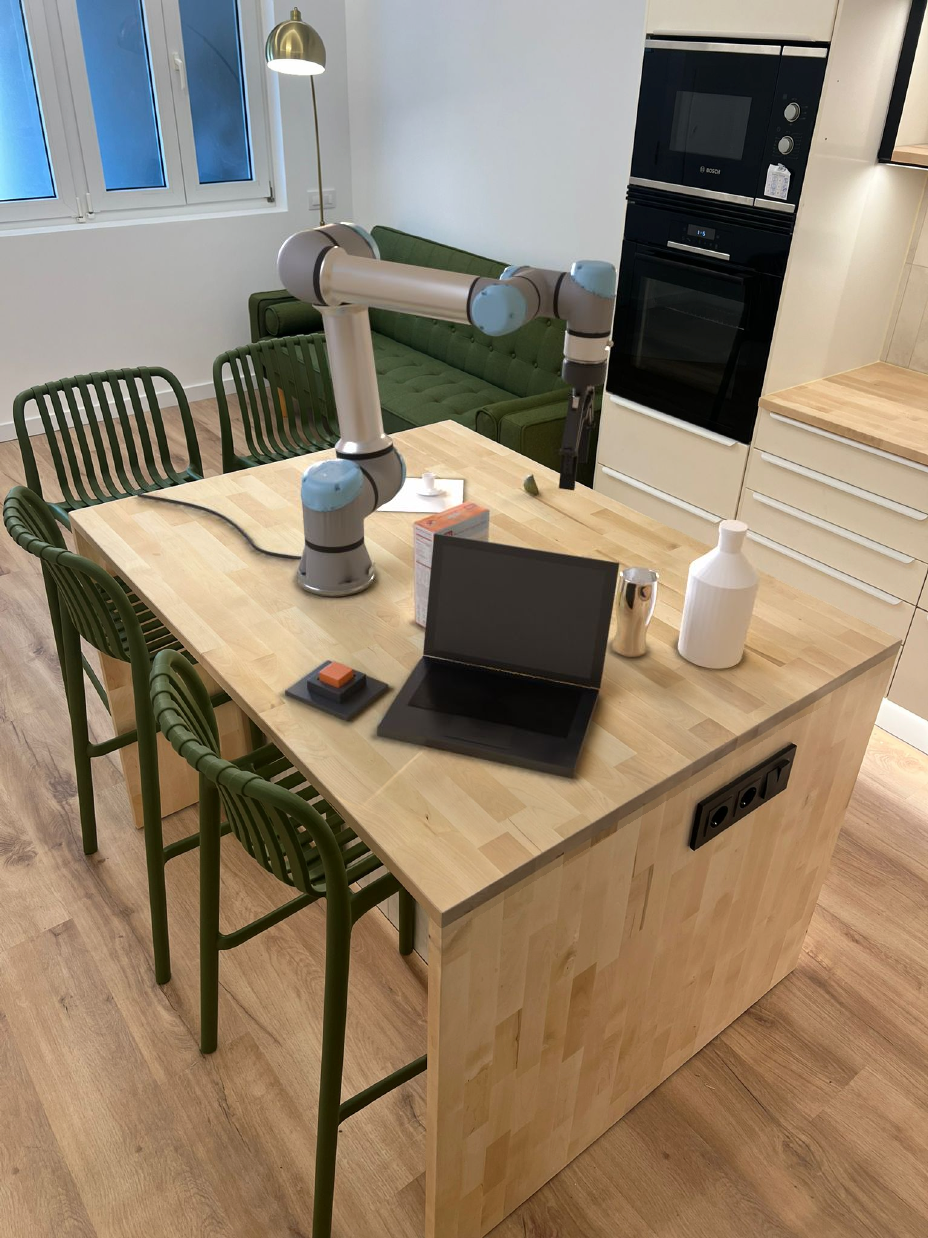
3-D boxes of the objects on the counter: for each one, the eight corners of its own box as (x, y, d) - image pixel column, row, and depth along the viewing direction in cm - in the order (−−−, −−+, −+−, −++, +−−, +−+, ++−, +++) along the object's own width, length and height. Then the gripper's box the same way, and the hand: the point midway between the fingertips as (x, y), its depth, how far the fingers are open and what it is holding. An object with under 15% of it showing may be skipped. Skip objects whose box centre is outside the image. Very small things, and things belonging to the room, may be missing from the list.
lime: (531, 488, 231) (532, 469, 229) (545, 494, 228) (546, 475, 226) (518, 493, 229) (519, 473, 226) (532, 499, 226) (534, 480, 223)
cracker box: (465, 597, 184) (468, 499, 173) (487, 609, 180) (492, 509, 169) (411, 622, 175) (412, 520, 165) (433, 635, 172) (435, 531, 161)
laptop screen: (619, 563, 149) (619, 562, 149) (433, 533, 156) (435, 533, 157) (599, 689, 155) (600, 688, 156) (422, 655, 162) (424, 653, 163)
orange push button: (285, 695, 154) (283, 680, 153) (327, 664, 162) (327, 650, 161) (347, 722, 148) (347, 707, 147) (388, 689, 157) (388, 674, 155)
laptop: (573, 779, 138) (574, 769, 137) (376, 736, 146) (376, 726, 145) (598, 698, 156) (599, 689, 155) (422, 663, 163) (422, 654, 162)
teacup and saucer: (444, 498, 224) (445, 483, 222) (411, 497, 224) (411, 481, 222) (445, 484, 232) (446, 469, 230) (413, 483, 232) (413, 468, 230)
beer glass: (606, 638, 172) (615, 565, 165) (643, 637, 173) (654, 565, 165) (614, 659, 166) (624, 585, 159) (652, 658, 167) (664, 584, 159)
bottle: (756, 664, 166) (784, 537, 153) (696, 673, 163) (720, 544, 150) (722, 630, 176) (746, 507, 163) (664, 638, 173) (685, 514, 160)
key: (319, 681, 153) (318, 672, 153) (334, 669, 156) (334, 661, 156) (338, 689, 152) (338, 680, 151) (353, 677, 155) (353, 668, 154)
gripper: (596, 381, 149) (582, 504, 160) (617, 342, 169) (603, 453, 180) (550, 375, 150) (539, 497, 161) (576, 338, 171) (565, 448, 182)
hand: (573, 474), depth 171 cm, fingers open, 13 cm apart
